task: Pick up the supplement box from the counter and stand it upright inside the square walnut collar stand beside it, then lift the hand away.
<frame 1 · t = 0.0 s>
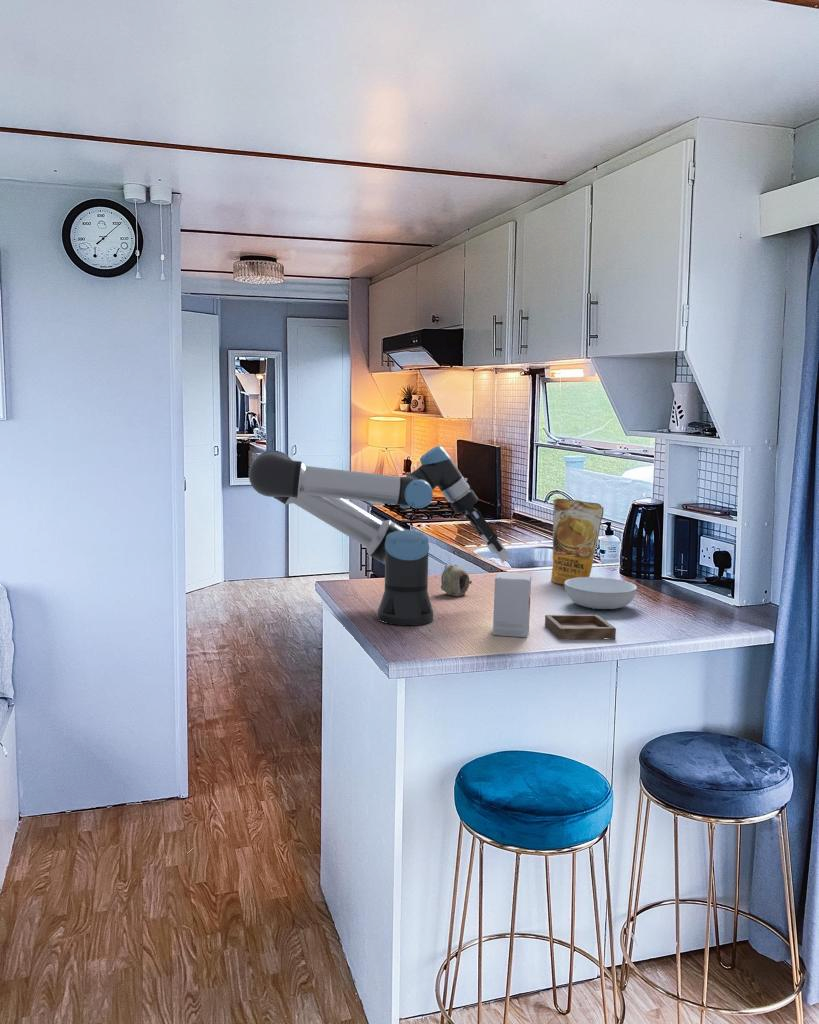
hand: (501, 555, 249), 15 cm above the countertop, tool tilted 35°, fingers open, 13 cm apart
collar stand: (579, 631, 225), on the countertop
pancake mix bag: (571, 585, 286), on the countertop
supplement box: (511, 633, 223), on the countertop
greenish lumpy pot: (456, 595, 267), on the countertop
serving bowl: (599, 607, 255), on the countertop
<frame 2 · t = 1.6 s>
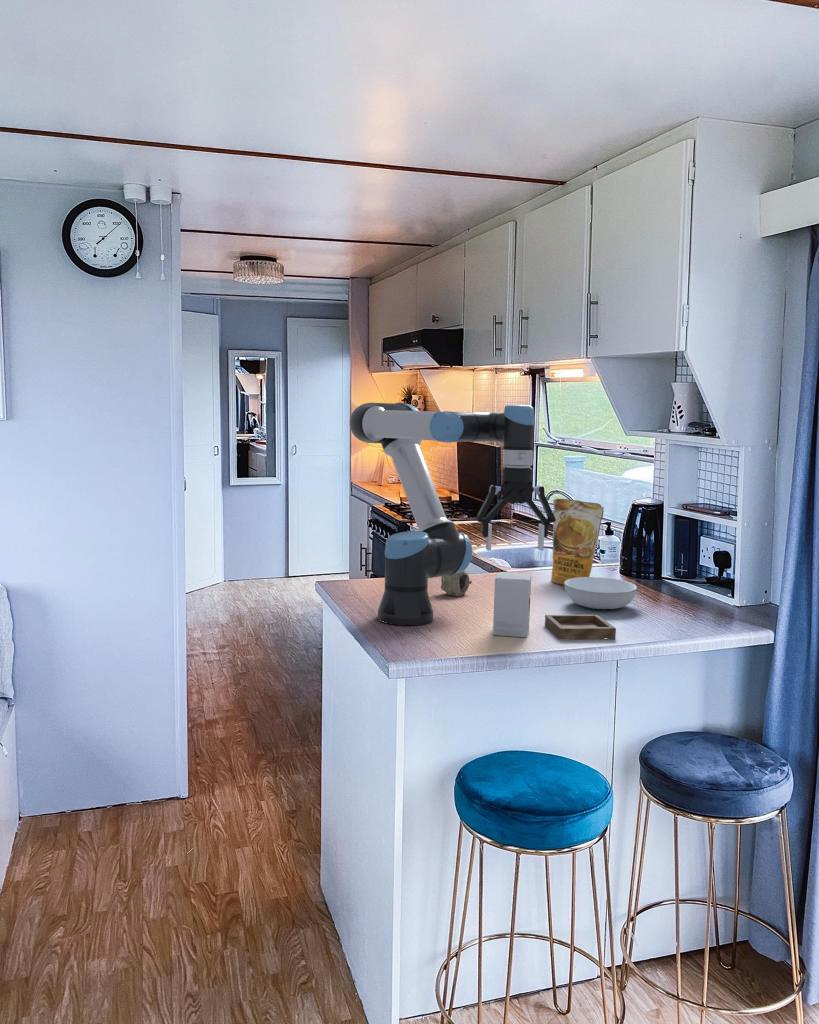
hand: (514, 549, 221), 22 cm above the countertop, tool pointing down, fingers open, 13 cm apart
nothing on the countertop moved.
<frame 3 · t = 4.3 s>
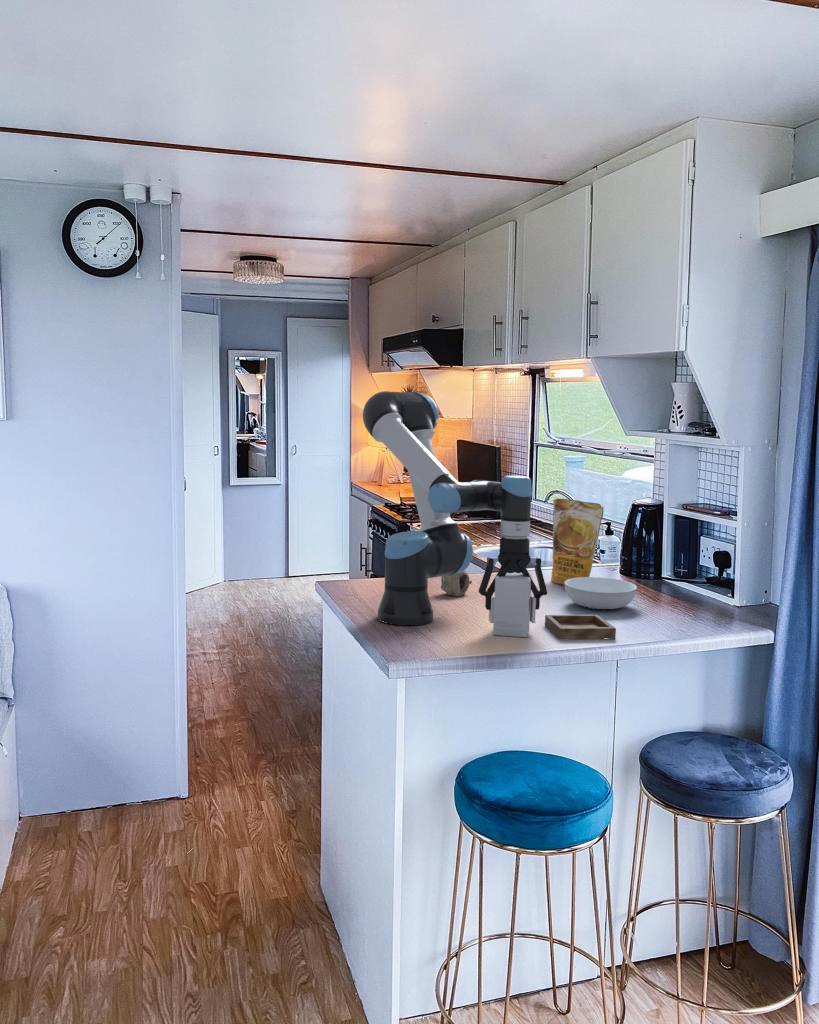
hand: (511, 621, 223), 3 cm above the countertop, tool pointing down, fingers closed on supplement box, 10 cm apart
supplement box: (511, 633, 223), on the countertop, touching gripper
everything else where it was.
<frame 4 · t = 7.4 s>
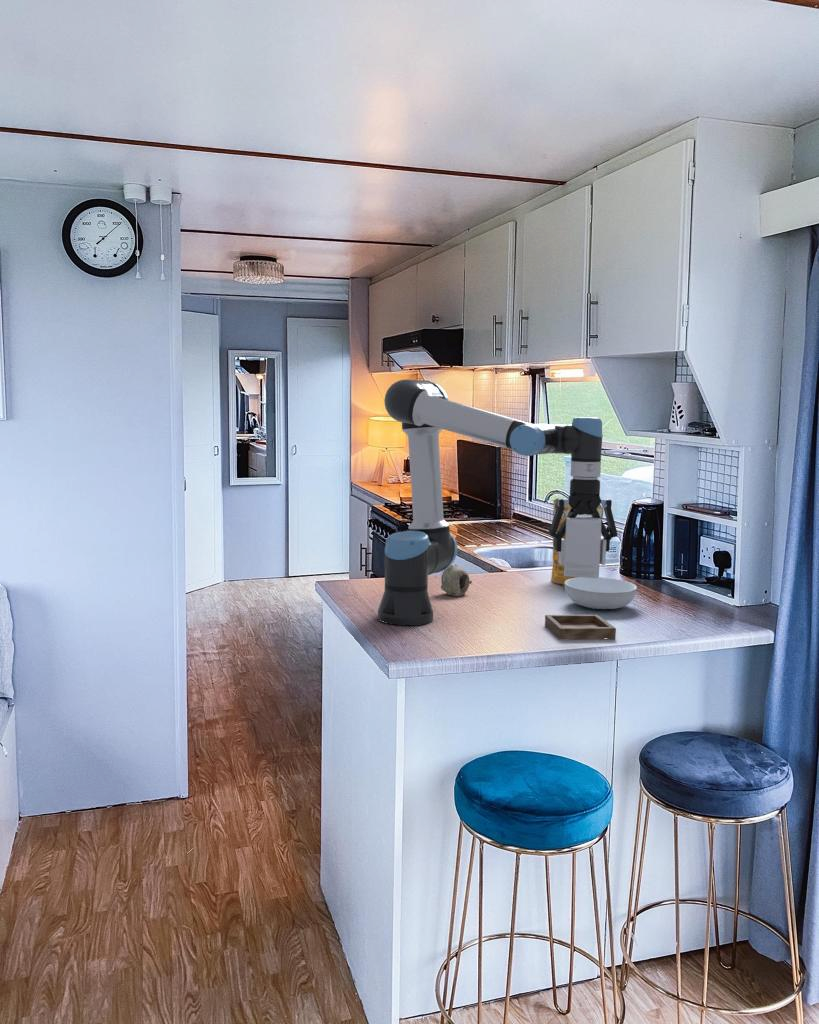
hand: (581, 564, 223), 18 cm above the countertop, tool pointing down, fingers closed on supplement box, 10 cm apart
supplement box: (581, 575, 223), point 15 cm above the countertop, touching gripper
everything else where it was.
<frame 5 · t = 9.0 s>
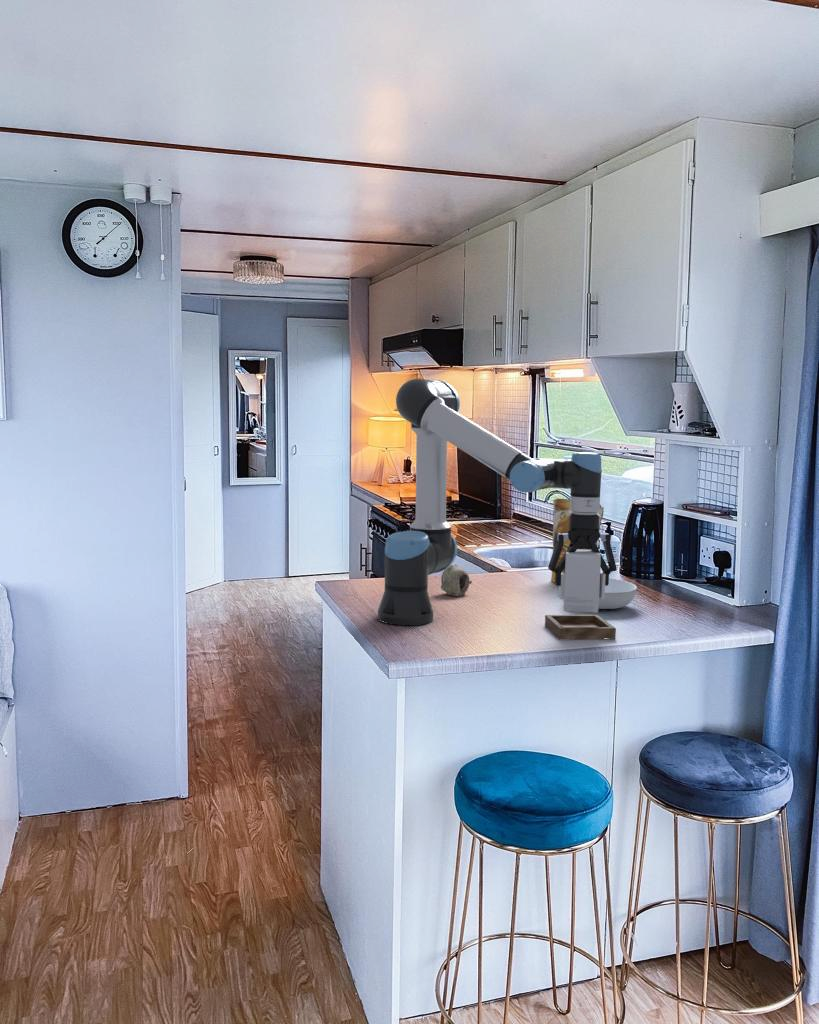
hand: (581, 598, 224), 9 cm above the countertop, tool pointing down, fingers closed on supplement box, 10 cm apart
supplement box: (580, 609, 224), point 6 cm above the countertop, touching gripper
everything else where it was.
when the fingers open (6 cm above the countertop, at t = 10.6 s): supplement box drops 2 cm, resting on collar stand.
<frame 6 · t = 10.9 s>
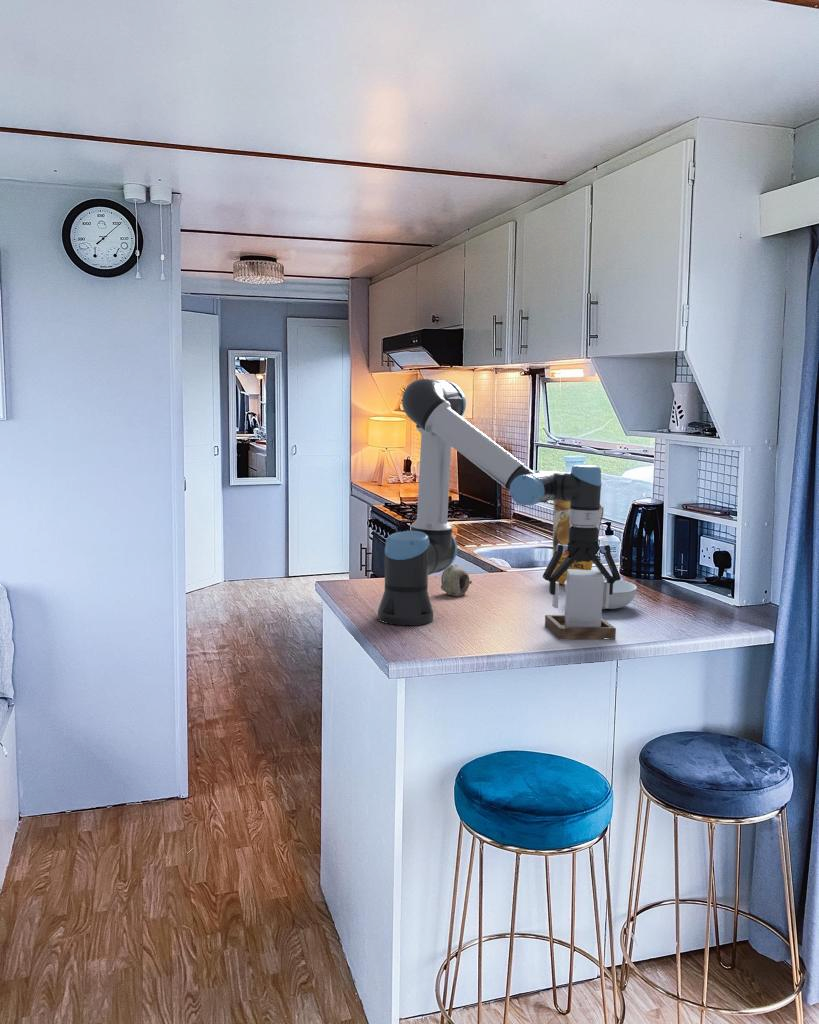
hand: (580, 607, 224), 7 cm above the countertop, tool pointing down, fingers open, 13 cm apart
supplement box: (582, 629, 225), point 1 cm above the countertop, touching collar stand
everything else where it was.
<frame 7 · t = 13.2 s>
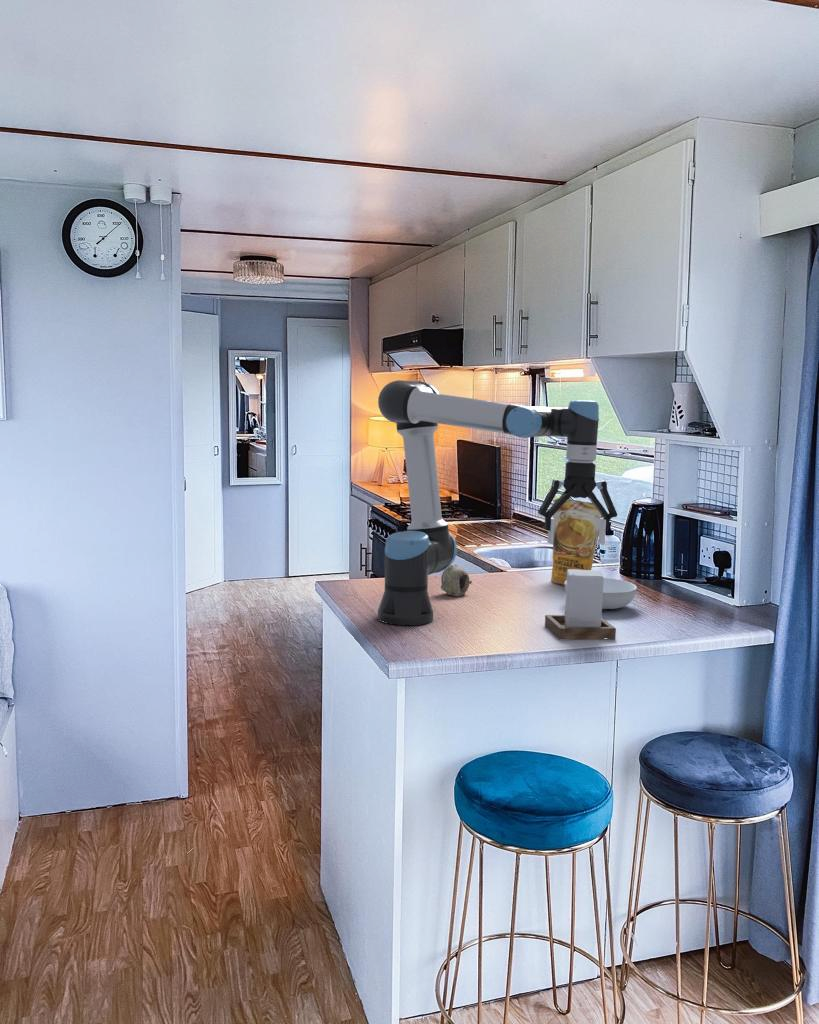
hand: (575, 543, 223), 23 cm above the countertop, tool pointing down, fingers open, 13 cm apart
nothing on the countertop moved.
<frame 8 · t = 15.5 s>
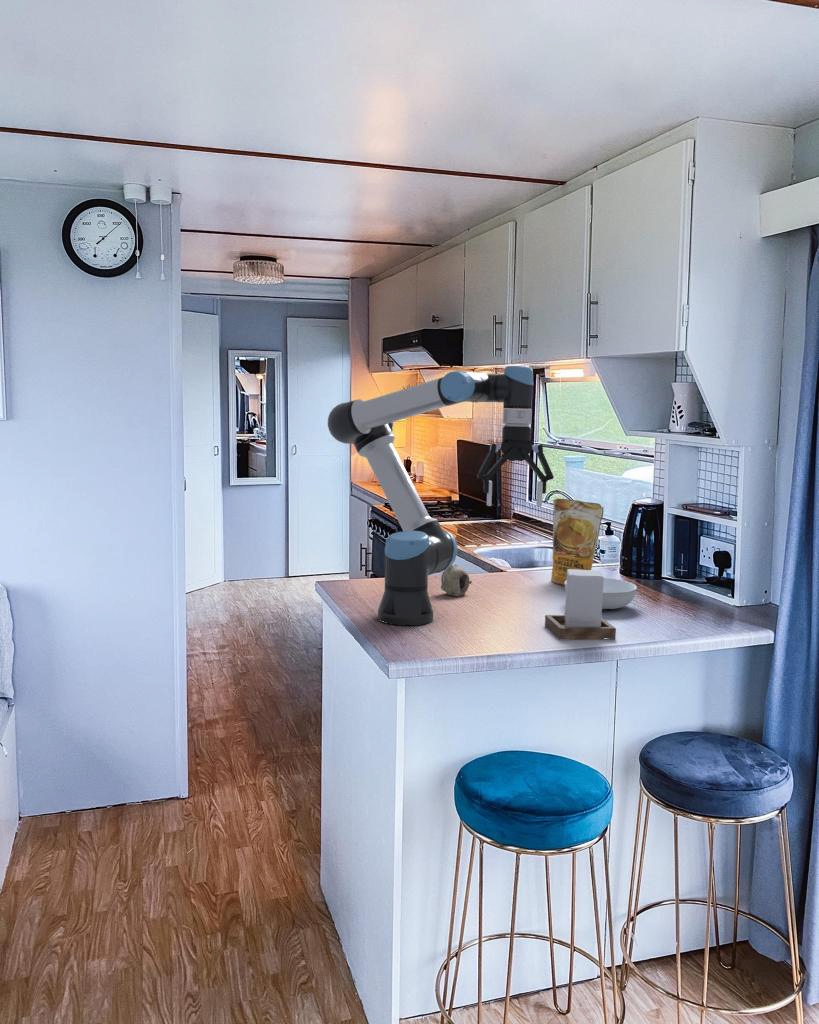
hand: (514, 505, 230), 32 cm above the countertop, tool pointing down, fingers open, 13 cm apart
nothing on the countertop moved.
at the end: supplement box 0.8 cm off-centre on the collar stand, point 0.6 cm above the collar stand's base; supplement box tilted 0°; the gripper is holding nothing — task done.
